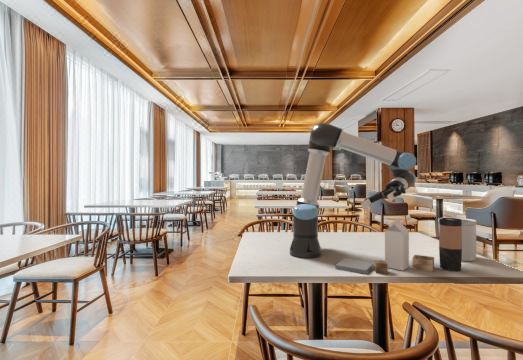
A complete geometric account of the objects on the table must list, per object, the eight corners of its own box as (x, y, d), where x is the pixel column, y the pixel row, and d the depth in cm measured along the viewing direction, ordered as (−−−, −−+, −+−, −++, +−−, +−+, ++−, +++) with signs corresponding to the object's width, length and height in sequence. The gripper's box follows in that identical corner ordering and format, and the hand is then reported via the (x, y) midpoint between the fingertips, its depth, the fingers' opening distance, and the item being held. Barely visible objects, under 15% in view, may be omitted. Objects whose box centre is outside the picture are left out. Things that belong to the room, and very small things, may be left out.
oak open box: (412, 269, 115) (412, 258, 115) (414, 265, 121) (414, 254, 121) (432, 272, 111) (432, 261, 111) (434, 267, 117) (434, 257, 117)
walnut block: (376, 273, 110) (376, 262, 110) (374, 270, 113) (374, 260, 113) (387, 274, 109) (387, 263, 109) (385, 271, 112) (385, 260, 112)
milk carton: (409, 267, 117) (408, 220, 117) (403, 271, 112) (403, 222, 112) (390, 263, 122) (390, 219, 122) (384, 267, 117) (384, 220, 117)
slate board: (335, 268, 115) (335, 264, 115) (345, 261, 125) (345, 258, 125) (366, 274, 108) (366, 270, 108) (373, 266, 118) (373, 262, 118)
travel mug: (465, 272, 110) (465, 220, 110) (443, 271, 112) (443, 219, 112) (456, 266, 118) (456, 217, 118) (436, 265, 119) (435, 217, 120)
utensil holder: (442, 260, 127) (442, 220, 128) (434, 252, 141) (434, 216, 141) (482, 263, 122) (482, 222, 122) (470, 254, 136) (470, 218, 136)
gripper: (425, 186, 128) (406, 203, 115) (377, 201, 147) (356, 216, 134) (417, 171, 128) (397, 186, 115) (371, 187, 148) (349, 202, 135)
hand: (375, 202), depth 125 cm, fingers open, 13 cm apart
